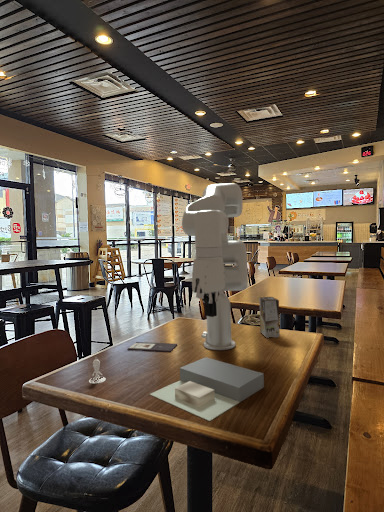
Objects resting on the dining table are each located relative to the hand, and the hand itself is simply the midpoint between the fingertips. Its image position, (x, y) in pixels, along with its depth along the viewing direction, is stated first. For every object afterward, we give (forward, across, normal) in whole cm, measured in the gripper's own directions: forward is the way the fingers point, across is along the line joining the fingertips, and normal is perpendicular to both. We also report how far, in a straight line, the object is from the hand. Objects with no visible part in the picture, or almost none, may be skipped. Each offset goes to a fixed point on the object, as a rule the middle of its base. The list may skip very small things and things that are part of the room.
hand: (210, 315), depth 101 cm
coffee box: (+22, -54, -14) cm, 60 cm away
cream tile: (+18, +11, +3) cm, 21 cm away
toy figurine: (+21, +22, -29) cm, 42 cm away
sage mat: (+20, +11, +2) cm, 23 cm away
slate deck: (+20, -1, +2) cm, 21 cm away
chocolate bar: (+22, -10, -41) cm, 48 cm away
